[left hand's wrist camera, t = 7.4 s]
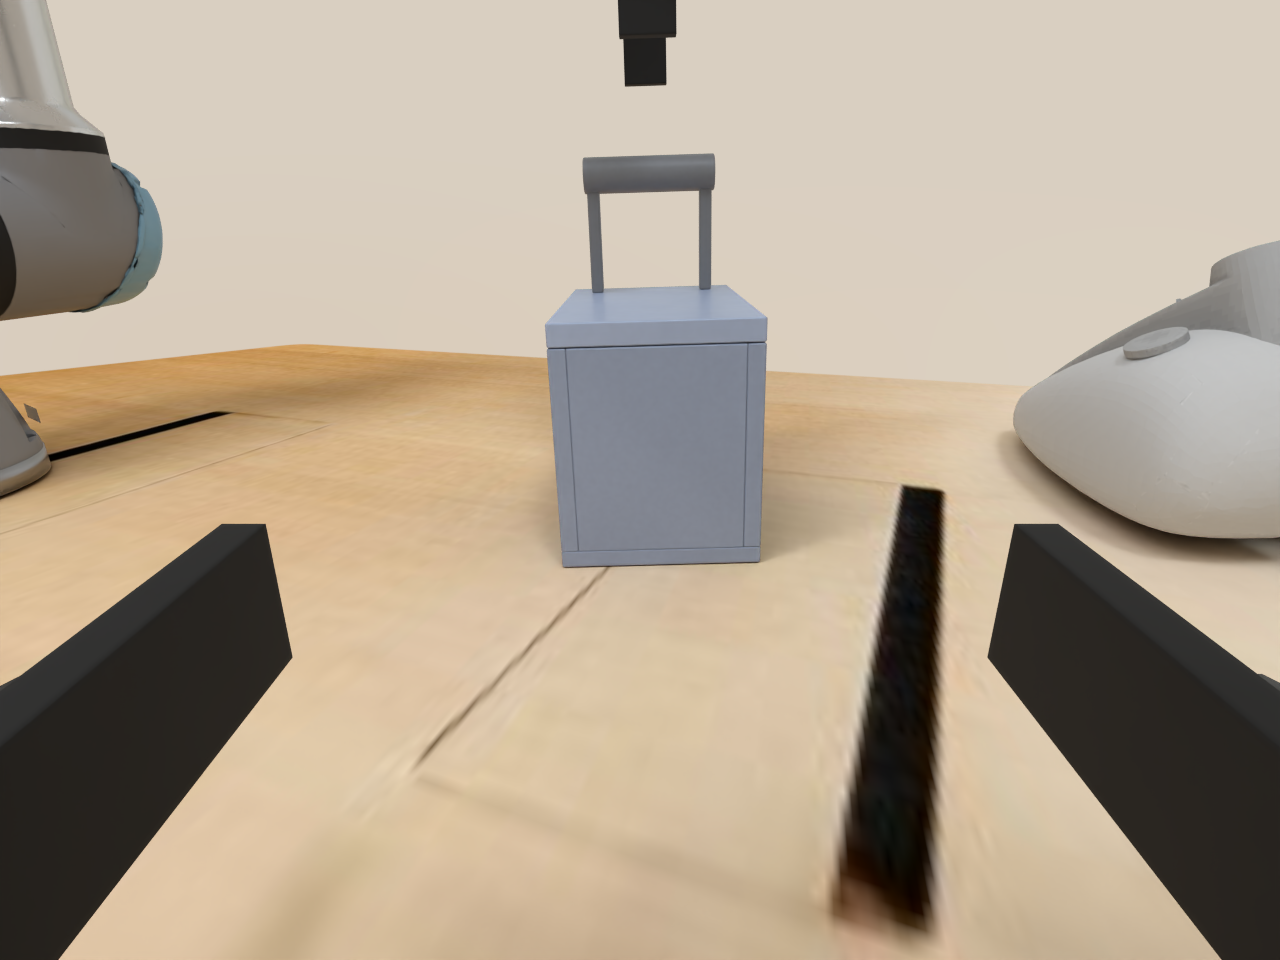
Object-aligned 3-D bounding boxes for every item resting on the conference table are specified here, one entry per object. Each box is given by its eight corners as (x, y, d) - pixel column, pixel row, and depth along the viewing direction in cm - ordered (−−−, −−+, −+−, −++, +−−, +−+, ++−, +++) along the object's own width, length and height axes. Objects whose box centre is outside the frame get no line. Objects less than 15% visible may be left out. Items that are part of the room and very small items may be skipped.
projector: (1427, 478, 44) (1522, 223, 39) (1489, 641, 28) (1665, 244, 23) (1031, 421, 58) (1063, 228, 53) (921, 508, 42) (951, 243, 37)
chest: (584, 467, 51) (575, 308, 47) (725, 463, 51) (727, 304, 47) (562, 567, 36) (546, 349, 33) (760, 562, 36) (766, 343, 32)
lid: (576, 306, 48) (567, 161, 45) (726, 302, 48) (728, 156, 44) (546, 348, 33) (530, 133, 30) (766, 341, 32) (773, 125, 29)
